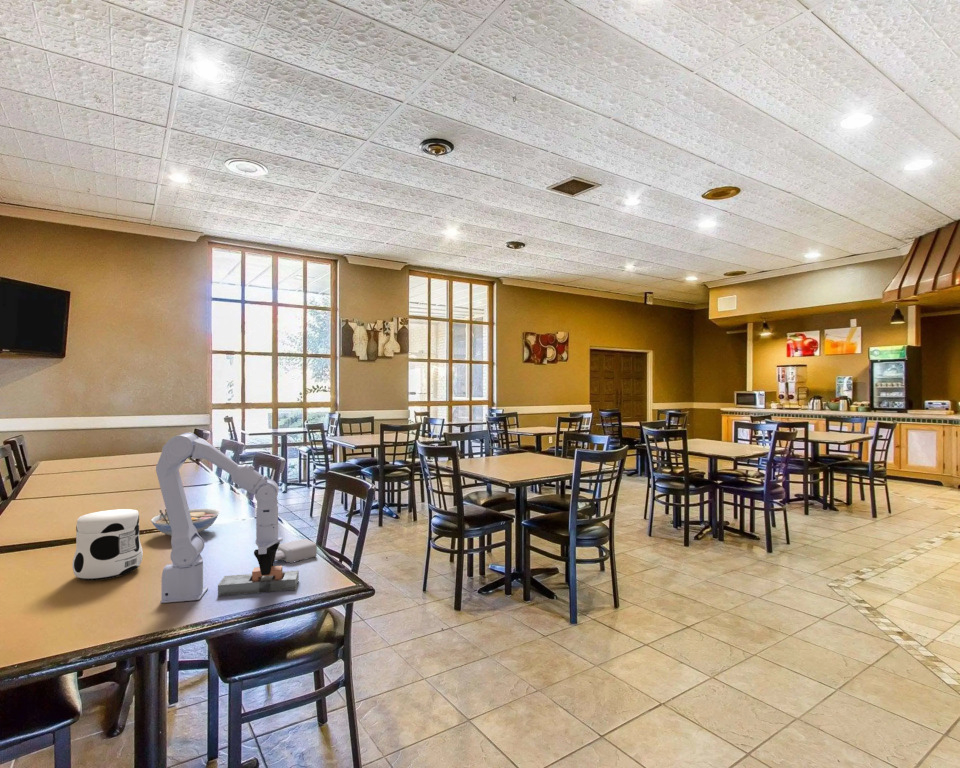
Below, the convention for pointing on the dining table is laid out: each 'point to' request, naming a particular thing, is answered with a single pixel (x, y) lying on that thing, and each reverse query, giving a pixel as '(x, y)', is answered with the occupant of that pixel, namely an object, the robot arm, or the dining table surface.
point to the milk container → (107, 544)
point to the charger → (296, 550)
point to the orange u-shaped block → (274, 571)
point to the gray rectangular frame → (257, 584)
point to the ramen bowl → (199, 518)
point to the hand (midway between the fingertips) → (267, 571)
